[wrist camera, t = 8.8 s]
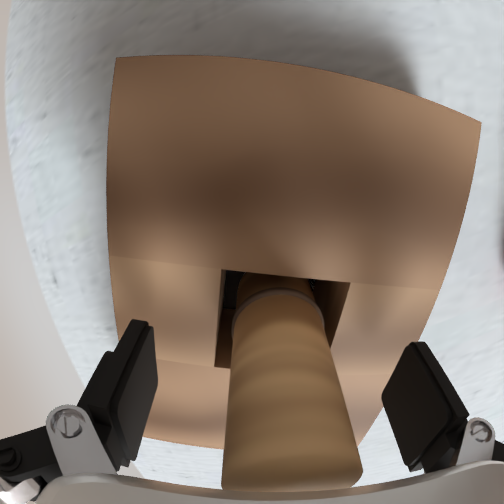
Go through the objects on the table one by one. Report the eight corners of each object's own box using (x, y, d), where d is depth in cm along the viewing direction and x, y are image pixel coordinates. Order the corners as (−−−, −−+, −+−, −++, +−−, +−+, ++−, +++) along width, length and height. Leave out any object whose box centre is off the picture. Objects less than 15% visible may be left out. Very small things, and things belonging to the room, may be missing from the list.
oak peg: (241, 238, 16) (220, 448, 5) (312, 246, 17) (391, 445, 5) (234, 300, 18) (215, 504, 7) (299, 306, 18) (338, 504, 7)
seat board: (156, 75, 13) (115, 57, 8) (424, 118, 14) (481, 122, 9) (156, 383, 21) (139, 435, 16) (341, 398, 21) (355, 450, 17)
